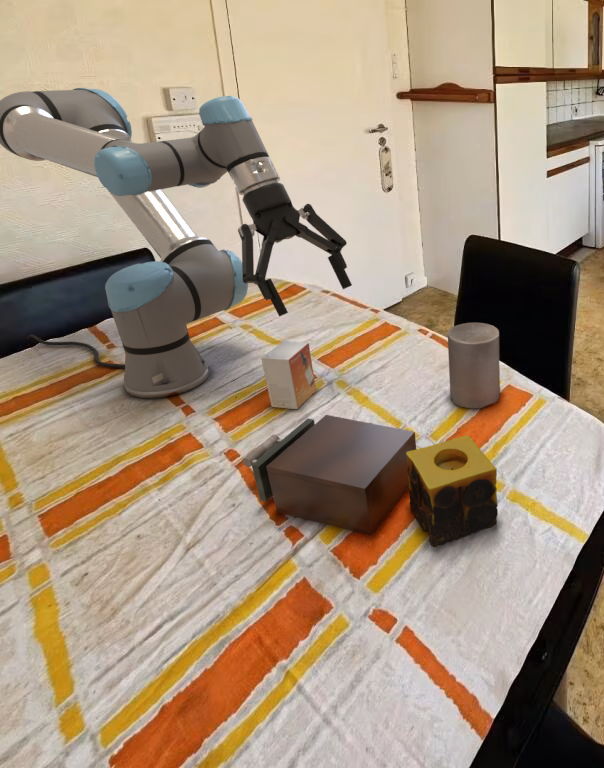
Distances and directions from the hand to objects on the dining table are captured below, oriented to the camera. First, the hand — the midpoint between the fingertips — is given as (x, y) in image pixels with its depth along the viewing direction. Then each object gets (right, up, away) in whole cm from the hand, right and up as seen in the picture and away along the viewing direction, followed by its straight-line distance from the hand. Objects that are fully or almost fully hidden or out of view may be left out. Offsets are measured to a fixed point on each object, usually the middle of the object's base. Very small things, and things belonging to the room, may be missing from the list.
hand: (316, 300), depth 115 cm
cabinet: (+11, -32, -19) cm, 39 cm away
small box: (-6, -18, +6) cm, 21 cm away
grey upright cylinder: (+29, -18, +7) cm, 35 cm away
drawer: (+5, -30, -18) cm, 36 cm away
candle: (+27, -35, -24) cm, 50 cm away
